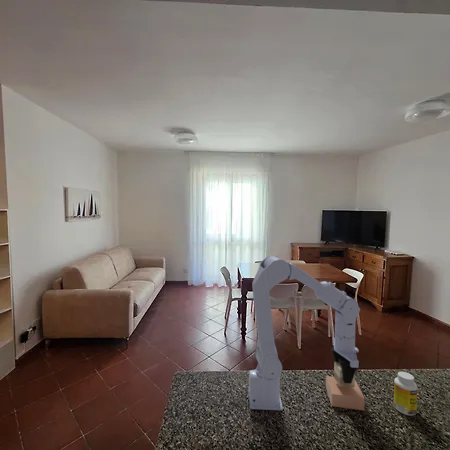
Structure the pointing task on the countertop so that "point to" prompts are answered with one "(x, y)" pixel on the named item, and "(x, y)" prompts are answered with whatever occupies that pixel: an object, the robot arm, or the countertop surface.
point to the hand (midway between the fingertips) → (344, 377)
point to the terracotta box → (344, 395)
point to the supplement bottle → (405, 394)
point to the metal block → (339, 376)
